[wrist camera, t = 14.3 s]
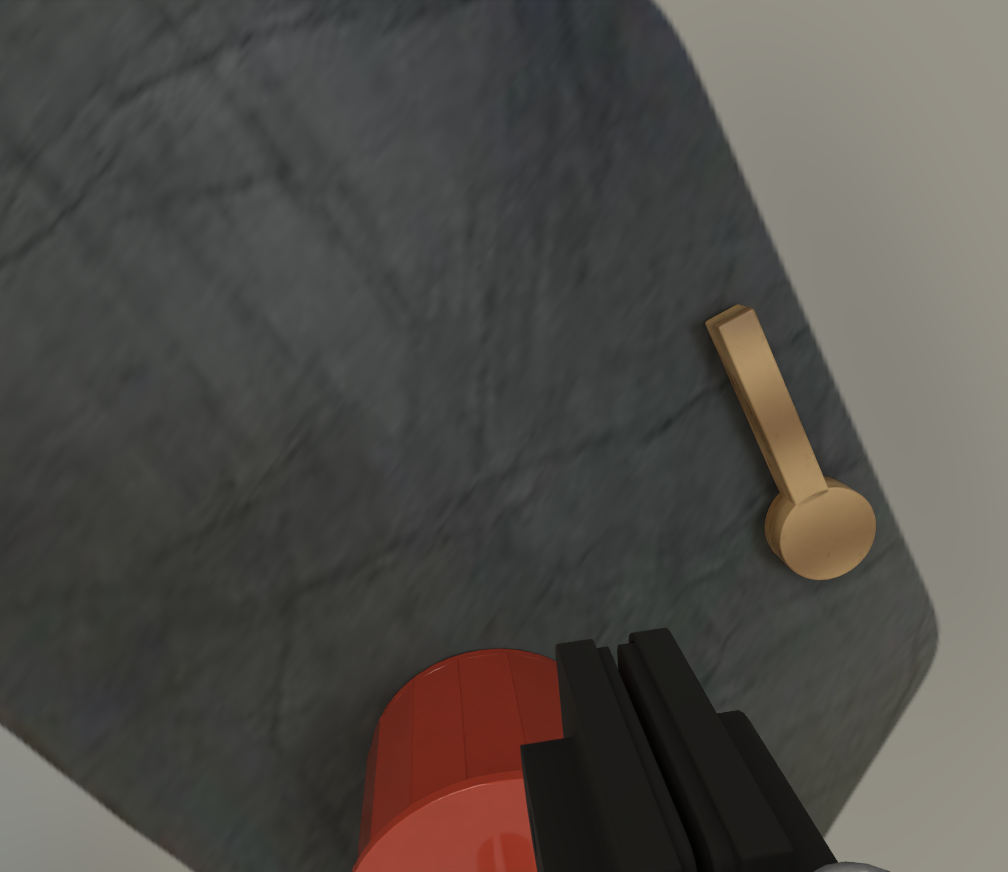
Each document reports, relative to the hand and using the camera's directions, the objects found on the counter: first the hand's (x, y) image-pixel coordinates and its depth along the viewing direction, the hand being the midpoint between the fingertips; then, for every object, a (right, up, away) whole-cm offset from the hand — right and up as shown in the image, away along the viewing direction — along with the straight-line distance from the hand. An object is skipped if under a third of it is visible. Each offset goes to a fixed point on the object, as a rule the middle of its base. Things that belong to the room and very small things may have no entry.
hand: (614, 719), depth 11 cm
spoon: (+10, +4, +22) cm, 25 cm away
